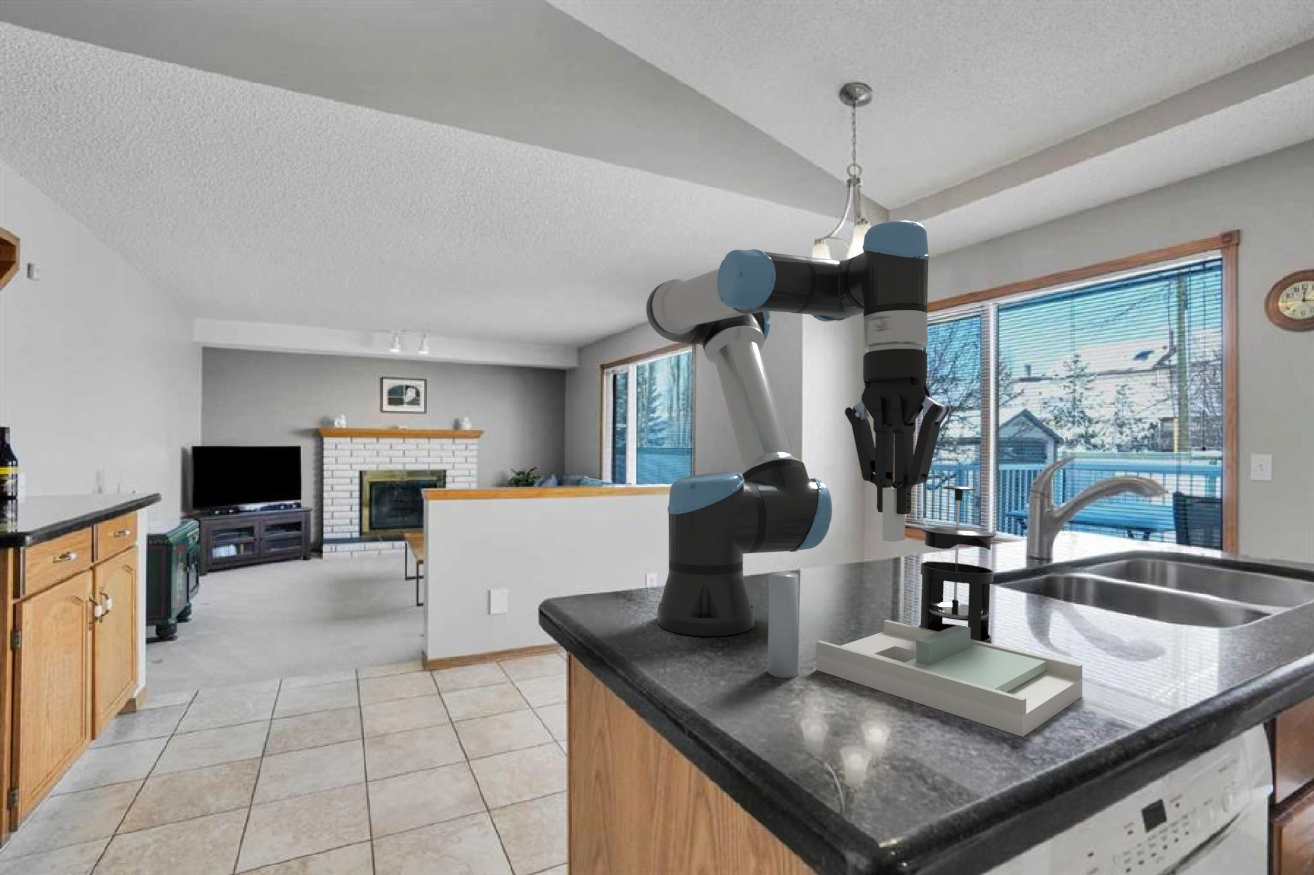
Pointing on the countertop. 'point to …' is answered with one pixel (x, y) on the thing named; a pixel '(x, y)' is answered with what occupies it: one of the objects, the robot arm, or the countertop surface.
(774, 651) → the pin
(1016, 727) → the housing
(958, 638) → the lid
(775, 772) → the countertop surface
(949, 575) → the french press
